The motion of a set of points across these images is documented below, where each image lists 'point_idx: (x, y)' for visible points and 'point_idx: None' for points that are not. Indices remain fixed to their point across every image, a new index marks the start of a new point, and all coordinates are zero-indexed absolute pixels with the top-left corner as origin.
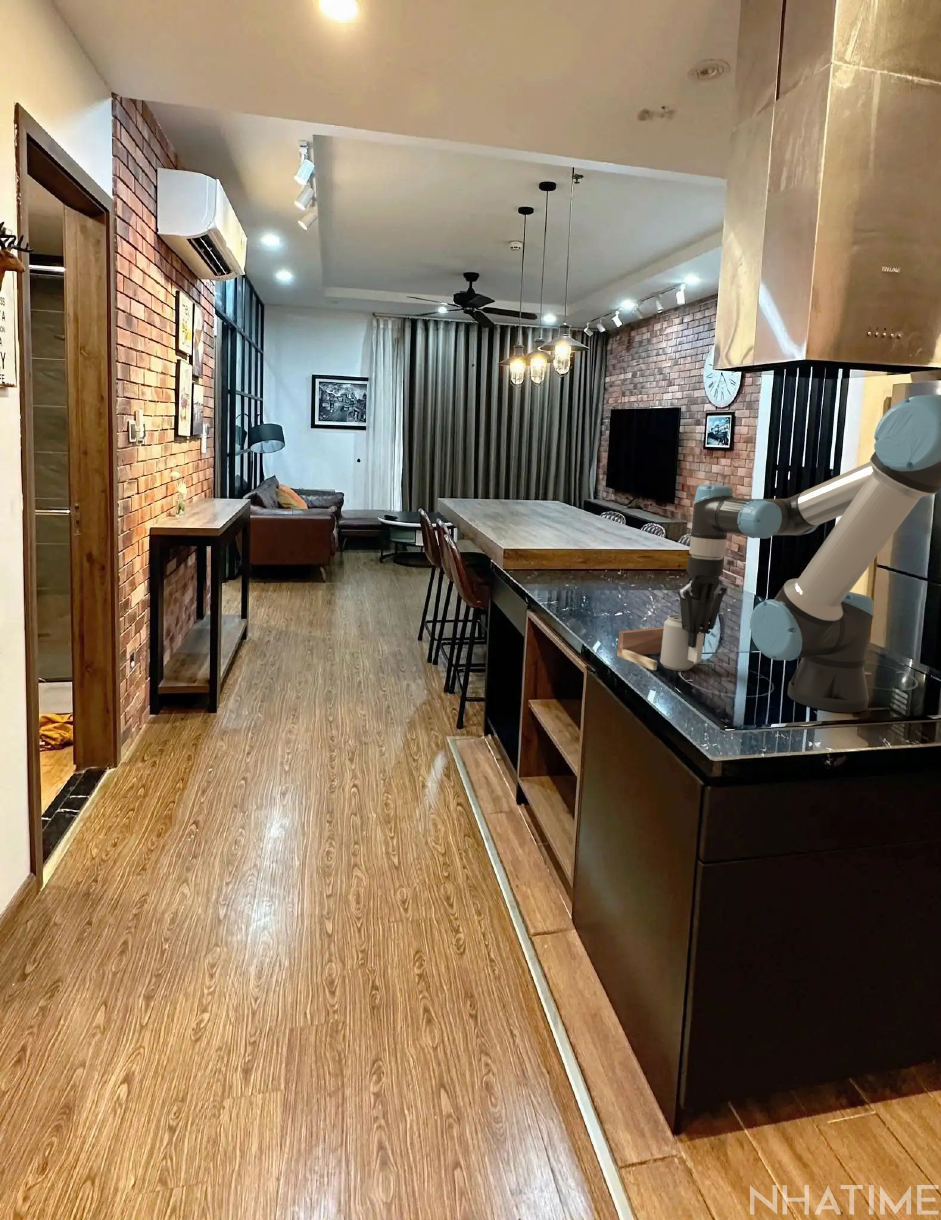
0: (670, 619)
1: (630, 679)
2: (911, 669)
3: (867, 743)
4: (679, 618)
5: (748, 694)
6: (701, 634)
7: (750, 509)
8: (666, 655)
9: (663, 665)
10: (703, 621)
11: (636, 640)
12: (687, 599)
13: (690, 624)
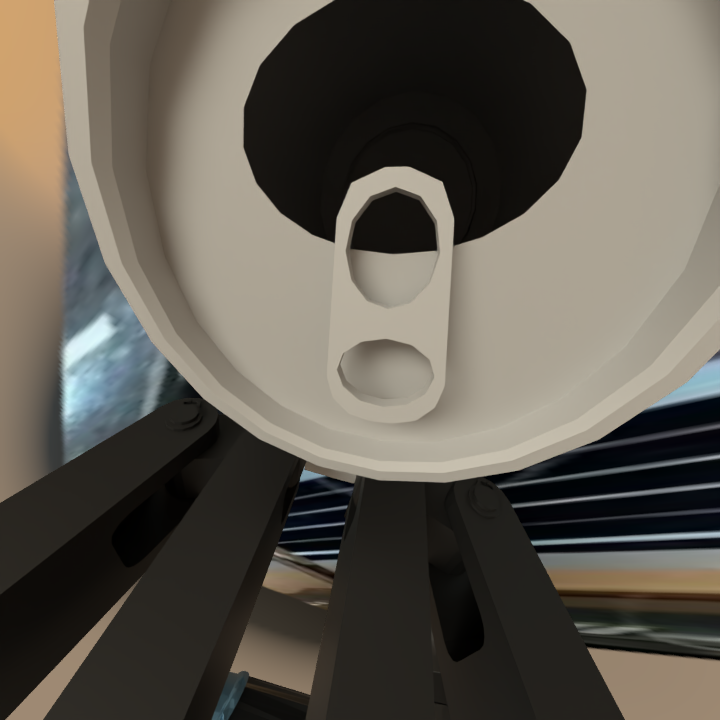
0: (114, 126)
1: (82, 195)
2: None
3: (291, 593)
4: (335, 241)
5: (335, 478)
6: (325, 473)
7: None
8: (304, 192)
9: (346, 161)
10: (333, 587)
11: None
12: None
13: (134, 526)
